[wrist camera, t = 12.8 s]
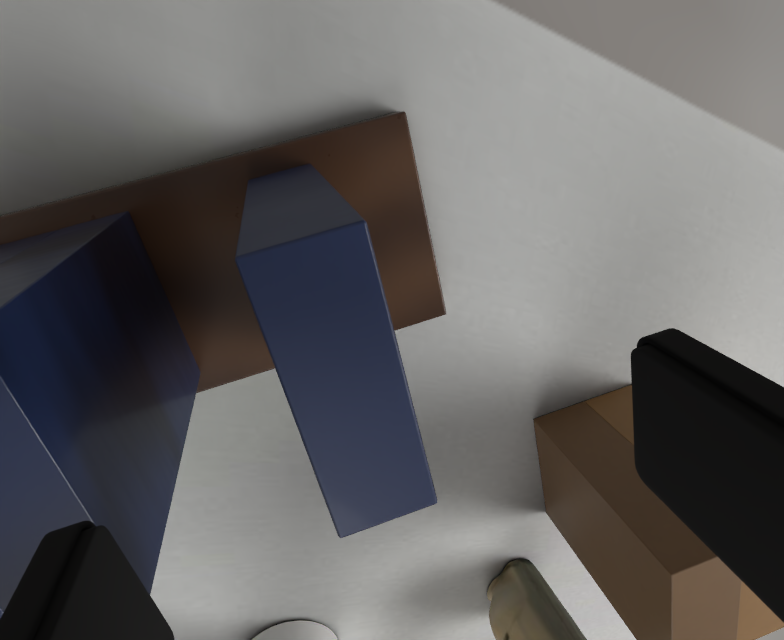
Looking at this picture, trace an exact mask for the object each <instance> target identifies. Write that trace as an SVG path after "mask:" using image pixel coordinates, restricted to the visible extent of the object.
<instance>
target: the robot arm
mask: <svg viewBox="0 0 784 640" xmlns="http://www.w3.org/2000/svg"><path fill="white" fill-rule="evenodd" d="M631 375H632V403H633V430H634V458H635V467H636V470H637V473H638V475H639V477H640V478H641V480H642V481H643V482H644V483H645V485H646V486H647V487H648V488H649V489H650V490H651V491H652V492H653V493H654V494H655V495H656V496H657V497H658V498H659V499H660V500H661V501H662V502H663V503H664V504H665V505H666V506H667V507H668V508H669V509H670V510H671V511H672V512H673V513H674V514H675V515H676V516H677V517H678V518H679V519H680V520H681V521H682V522H683V523H684V524H685V525H686V526H687V527H688V528H689V529H690V530H691V531H692V532H693V533H694V534H695V535H696V536H697V537H698V538H699V539H700V540H701V541H702V542H703V543H704V544H705V545H706V546H707V547H708V548H709V549H710V550H711V551H712V552H713V553H714V554H715V555H716V556H717V557H718V558H719V559H720V560H721V561H722V562H723V563H724V564H725V565H726V566H727V567H728V568H729V569H730V570H731V571H732V572H733V573H734V574H735V575H736V576H737V577H738V578H739V579H740V580H741V581H742V582H743V583H744V584H745V585H746V586H747V587H748V588H749V589H750V590H751V591H752V592H753V593H754V594H755V595H756V596H757V597H758V598H759V599H760V600H761V601H762V602H763V603H764V604H765V605H766V606H767V607H768V608H769V609H770V610H771V611H772V612H773V613H774V614H775V615H776V616H777V617H778V618H779V619H780V620H781V621H782V622H783V623H784V387H782V386H780V385H779V384H777V383H775V382H773V381H771V380H769V379H768V378H766V377H764V376H762V375H760V374H758V373H756V372H755V371H753V370H751V369H749V368H747V367H745V366H744V365H742V364H740V363H738V362H736V361H734V360H733V359H731V358H729V357H727V356H725V355H723V354H722V353H720V352H718V351H716V350H714V349H712V348H710V347H709V346H707V345H705V344H703V343H701V342H699V341H698V340H696V339H694V338H692V337H690V336H688V335H687V334H685V333H683V332H681V331H679V330H677V329H674V328H672V329H667V330H664V331H661V332H658V333H654V334H651V335H648V336H645V337H642V338H641V339H640V340H639V341H638V343H637V348H635V349H634V350H633V351H632V353H631ZM0 640H174V636H173V632H172V630H171V628H170V626H169V625H168V623H167V622H166V620H165V618H164V617H163V615H162V614H161V612H160V611H159V609H158V607H157V606H156V604H155V603H154V601H153V599H152V598H151V596H150V595H149V593H148V592H147V590H146V588H145V587H144V585H143V584H142V582H141V580H140V579H139V577H138V576H137V574H136V573H135V571H134V569H133V568H132V566H131V565H130V563H129V561H128V560H127V558H126V557H125V555H124V554H123V552H122V550H121V549H120V547H119V546H118V544H117V542H116V541H115V539H114V538H113V536H112V535H111V533H110V531H109V530H108V529H107V528H106V527H105V526H103V525H99V526H95V524H94V523H92V522H91V521H82V522H79V523H76V524H73V525H70V526H67V527H63V528H60V529H57V530H54V531H51V532H49V533H47V534H46V535H45V536H44V537H43V539H42V540H41V542H40V544H39V546H38V548H37V550H36V552H35V553H34V555H33V557H32V559H31V561H30V563H29V565H28V567H27V569H26V571H25V573H24V574H23V576H22V578H21V580H20V582H19V584H18V586H17V588H16V590H15V592H14V594H13V596H12V597H11V599H10V601H9V603H8V605H7V607H6V609H5V611H4V613H3V615H2V617H1V619H0Z"/></svg>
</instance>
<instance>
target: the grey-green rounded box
mask: <svg viewBox="0 0 784 640" xmlns="http://www.w3.org/2000/svg"><path fill="white" fill-rule="evenodd" d="M487 596H488V600H490V601H491V606H490V611H489V619H490V625H491V628H492V631H493V634H494V636H495V638H496V640H587V639H586V638H585V636H584V635H583V634H582V632H581V631H580V629H579V628H578V626H577V625H576V623H575V622H574V620H573V619H572V617H571V616H570V615H569V613H568V612H567V611H566V609H565V608H564V606H563V605H562V604H561V602H560V601H559V600H558V598H557V597H556V595H555V594H554V592H553V591H552V589H551V588H550V587H549V585H548V584H547V582H546V581H545V580H544V578H543V577H542V575H541V574H540V572H539V571H538V570H537V569H536V567H535V566H534V565H533V564H532V563H531V562H530V561H529V560H527V559H517V560H514V561H511V562H509V563H508V564H507V565H506V566H505V568H504V570H503V572H502V573H501V575H499V576H498V577H497V578H495V579H494V580H493V581H492V583H491V584H490V586H489V588H488V591H487Z"/></svg>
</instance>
